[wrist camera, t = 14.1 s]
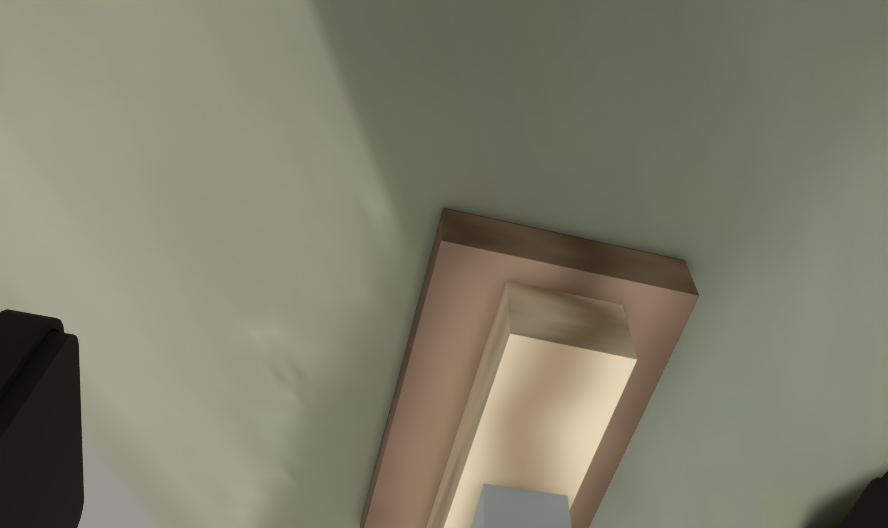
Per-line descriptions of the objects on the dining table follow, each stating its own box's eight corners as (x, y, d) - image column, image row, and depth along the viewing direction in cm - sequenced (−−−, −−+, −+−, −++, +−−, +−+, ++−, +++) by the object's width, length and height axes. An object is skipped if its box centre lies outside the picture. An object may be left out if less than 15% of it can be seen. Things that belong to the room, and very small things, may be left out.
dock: (684, 260, 41) (699, 295, 38) (551, 554, 52) (555, 596, 50) (443, 208, 40) (441, 240, 37) (360, 520, 51) (355, 561, 49)
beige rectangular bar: (622, 305, 39) (637, 359, 35) (516, 558, 48) (519, 620, 45) (506, 280, 38) (510, 333, 35) (421, 541, 48) (417, 602, 44)
